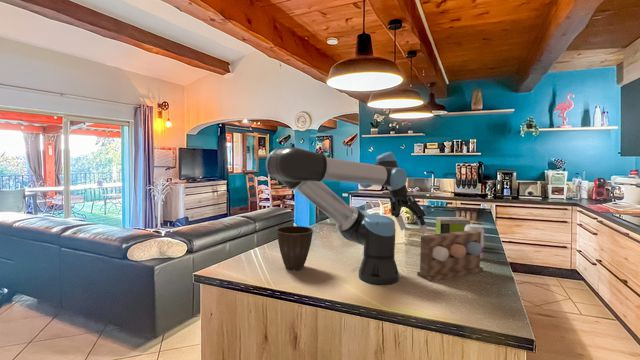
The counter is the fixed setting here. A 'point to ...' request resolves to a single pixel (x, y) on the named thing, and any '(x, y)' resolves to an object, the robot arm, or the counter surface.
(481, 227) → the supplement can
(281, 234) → the plant pot
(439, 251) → the ivory button
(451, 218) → the tea box
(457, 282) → the counter surface
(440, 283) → the counter surface
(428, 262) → the brown wooden rectangular frame
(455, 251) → the terracotta long rounded piece
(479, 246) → the slate button
